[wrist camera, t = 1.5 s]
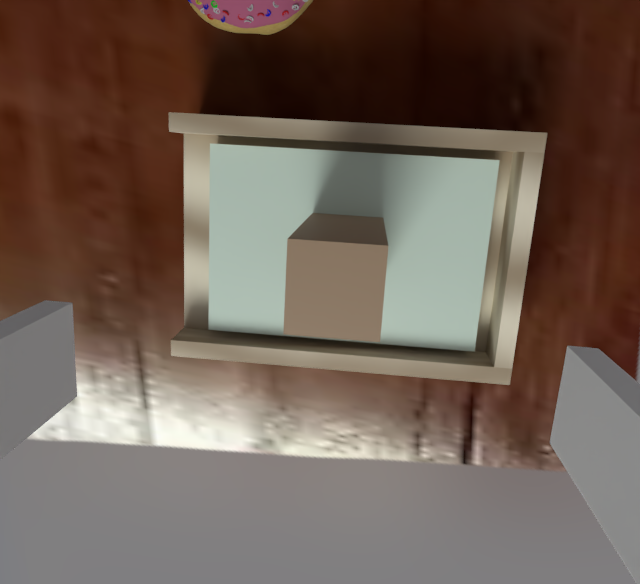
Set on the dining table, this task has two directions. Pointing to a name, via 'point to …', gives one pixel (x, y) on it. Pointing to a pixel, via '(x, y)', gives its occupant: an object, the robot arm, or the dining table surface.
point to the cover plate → (358, 186)
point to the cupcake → (250, 14)
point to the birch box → (507, 146)
